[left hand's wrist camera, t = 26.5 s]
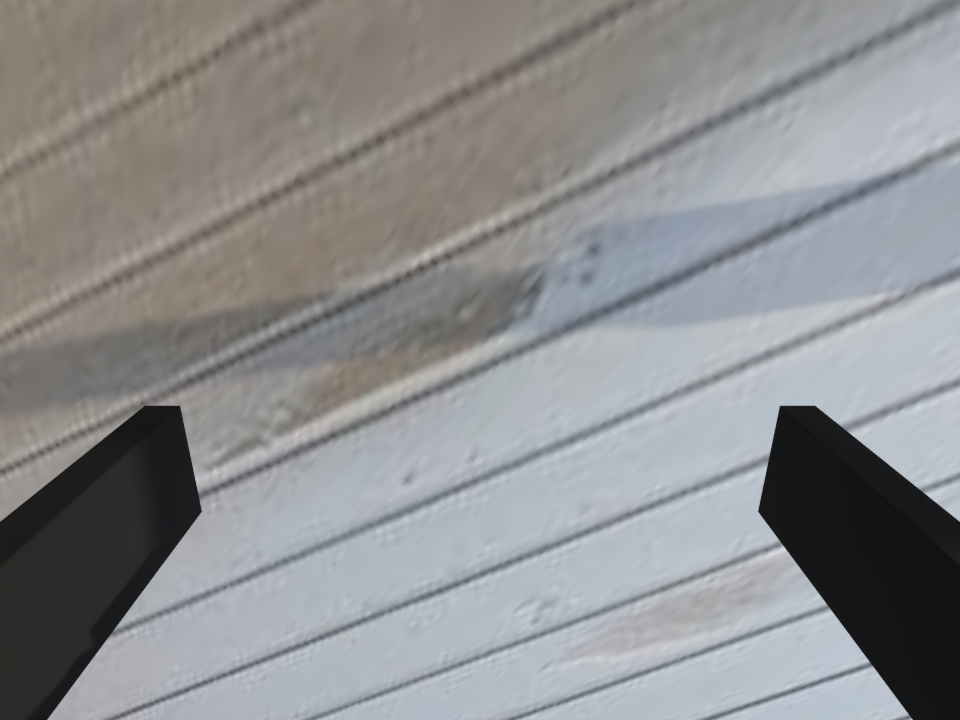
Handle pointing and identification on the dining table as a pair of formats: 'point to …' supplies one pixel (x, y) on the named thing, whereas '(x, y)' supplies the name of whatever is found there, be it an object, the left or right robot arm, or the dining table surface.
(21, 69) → the dining table surface
